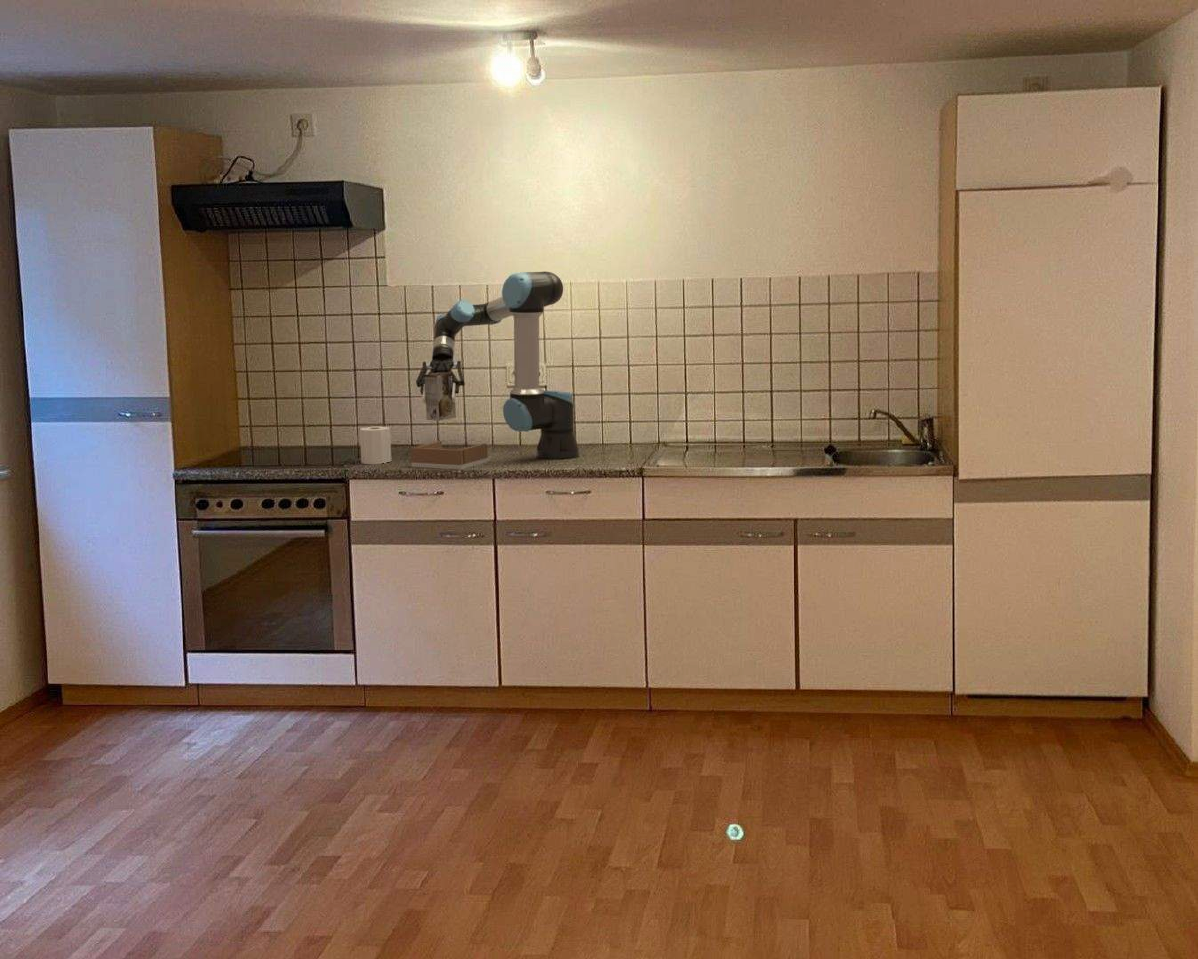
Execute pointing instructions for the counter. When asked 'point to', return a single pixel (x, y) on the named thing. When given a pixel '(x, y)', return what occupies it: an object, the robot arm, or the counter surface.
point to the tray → (448, 456)
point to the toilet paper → (375, 445)
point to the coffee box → (439, 396)
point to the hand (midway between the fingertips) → (438, 400)
